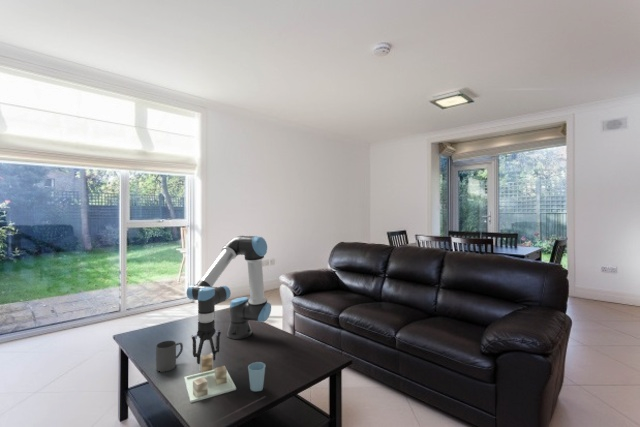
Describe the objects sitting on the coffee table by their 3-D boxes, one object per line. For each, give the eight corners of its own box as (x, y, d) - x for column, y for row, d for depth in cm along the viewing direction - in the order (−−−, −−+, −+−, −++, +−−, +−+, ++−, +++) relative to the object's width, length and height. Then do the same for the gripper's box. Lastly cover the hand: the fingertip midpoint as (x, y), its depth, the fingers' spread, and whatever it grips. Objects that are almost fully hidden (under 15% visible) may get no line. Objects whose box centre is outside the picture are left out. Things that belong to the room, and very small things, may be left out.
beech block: (224, 378, 149) (224, 365, 149) (226, 382, 145) (226, 369, 145) (214, 380, 146) (214, 367, 146) (216, 385, 143) (216, 372, 142)
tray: (224, 369, 157) (225, 366, 157) (236, 391, 139) (236, 387, 139) (184, 380, 148) (184, 376, 148) (190, 404, 130) (190, 400, 130)
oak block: (210, 366, 154) (210, 354, 154) (212, 370, 150) (212, 357, 150) (200, 368, 151) (200, 356, 151) (202, 372, 148) (202, 359, 147)
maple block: (203, 390, 139) (202, 377, 139) (207, 394, 135) (207, 381, 135) (192, 394, 135) (192, 380, 135) (197, 399, 132) (197, 385, 132)
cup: (244, 388, 141) (245, 365, 141) (259, 382, 146) (260, 360, 146) (252, 396, 136) (253, 372, 135) (268, 389, 141) (268, 366, 140)
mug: (162, 374, 153) (162, 349, 153) (152, 368, 158) (152, 345, 158) (187, 362, 164) (187, 340, 164) (177, 358, 169) (177, 336, 169)
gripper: (223, 315, 158) (222, 360, 158) (185, 321, 149) (185, 369, 150) (226, 319, 152) (226, 367, 152) (187, 326, 143) (187, 376, 143)
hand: (206, 368), depth 151 cm, fingers closed on oak block, 4 cm apart
